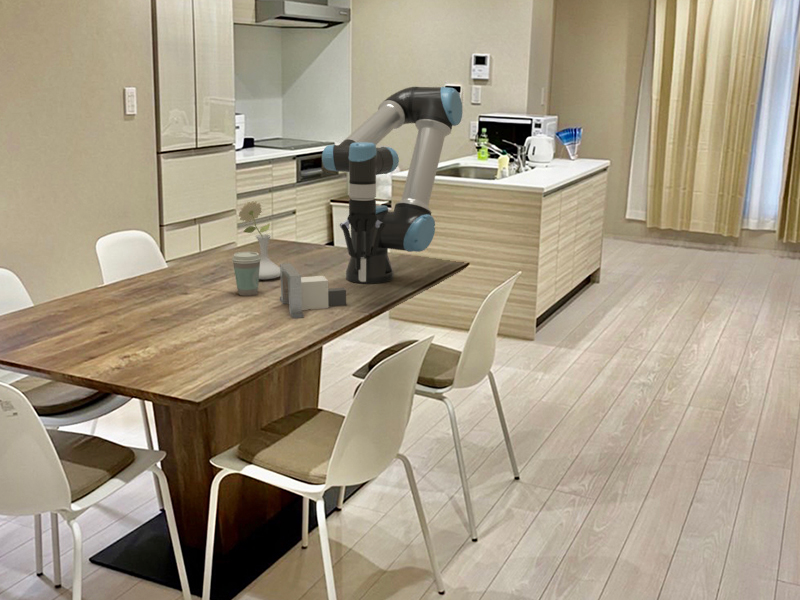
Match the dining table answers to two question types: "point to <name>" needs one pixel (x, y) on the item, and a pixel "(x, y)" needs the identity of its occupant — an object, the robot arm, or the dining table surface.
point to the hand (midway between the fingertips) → (362, 280)
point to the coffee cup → (247, 272)
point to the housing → (291, 289)
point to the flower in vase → (260, 240)
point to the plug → (320, 293)
